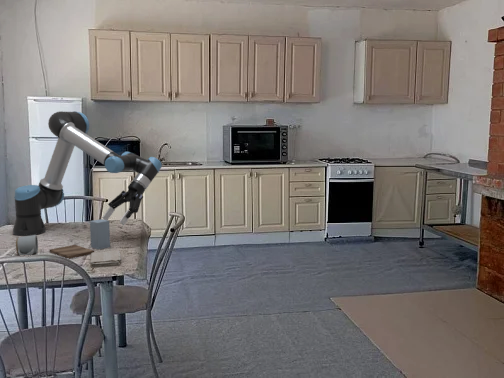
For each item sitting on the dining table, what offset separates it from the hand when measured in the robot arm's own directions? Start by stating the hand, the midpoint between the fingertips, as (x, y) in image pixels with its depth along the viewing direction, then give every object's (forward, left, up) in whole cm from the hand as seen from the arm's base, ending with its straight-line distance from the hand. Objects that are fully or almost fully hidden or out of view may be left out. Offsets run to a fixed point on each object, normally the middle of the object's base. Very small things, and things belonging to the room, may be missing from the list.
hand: (112, 221), depth 238 cm
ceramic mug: (-13, -34, -11) cm, 38 cm away
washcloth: (+20, -17, -12) cm, 29 cm away
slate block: (-1, -6, -11) cm, 13 cm away
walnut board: (-1, -20, -11) cm, 23 cm away
